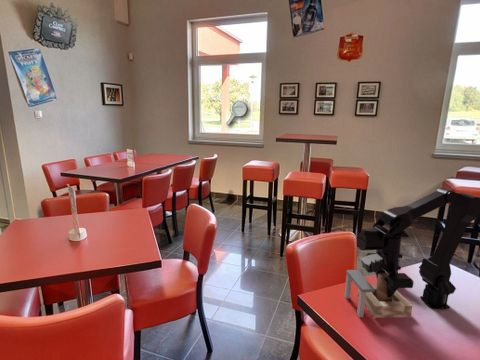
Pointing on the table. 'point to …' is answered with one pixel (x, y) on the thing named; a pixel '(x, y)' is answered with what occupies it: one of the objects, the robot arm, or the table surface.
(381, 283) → the peg
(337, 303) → the table surface
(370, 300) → the socket block
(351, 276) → the grey arch frame
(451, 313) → the table surface
